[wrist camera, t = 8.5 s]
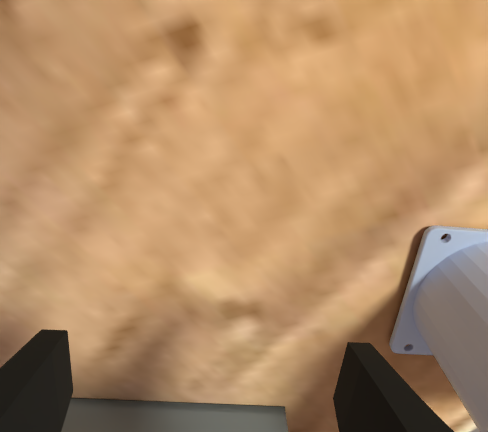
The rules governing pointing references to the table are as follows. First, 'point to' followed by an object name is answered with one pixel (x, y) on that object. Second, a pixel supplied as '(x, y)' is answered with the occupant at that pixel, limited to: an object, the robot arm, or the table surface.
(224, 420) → the bin
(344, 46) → the table surface
